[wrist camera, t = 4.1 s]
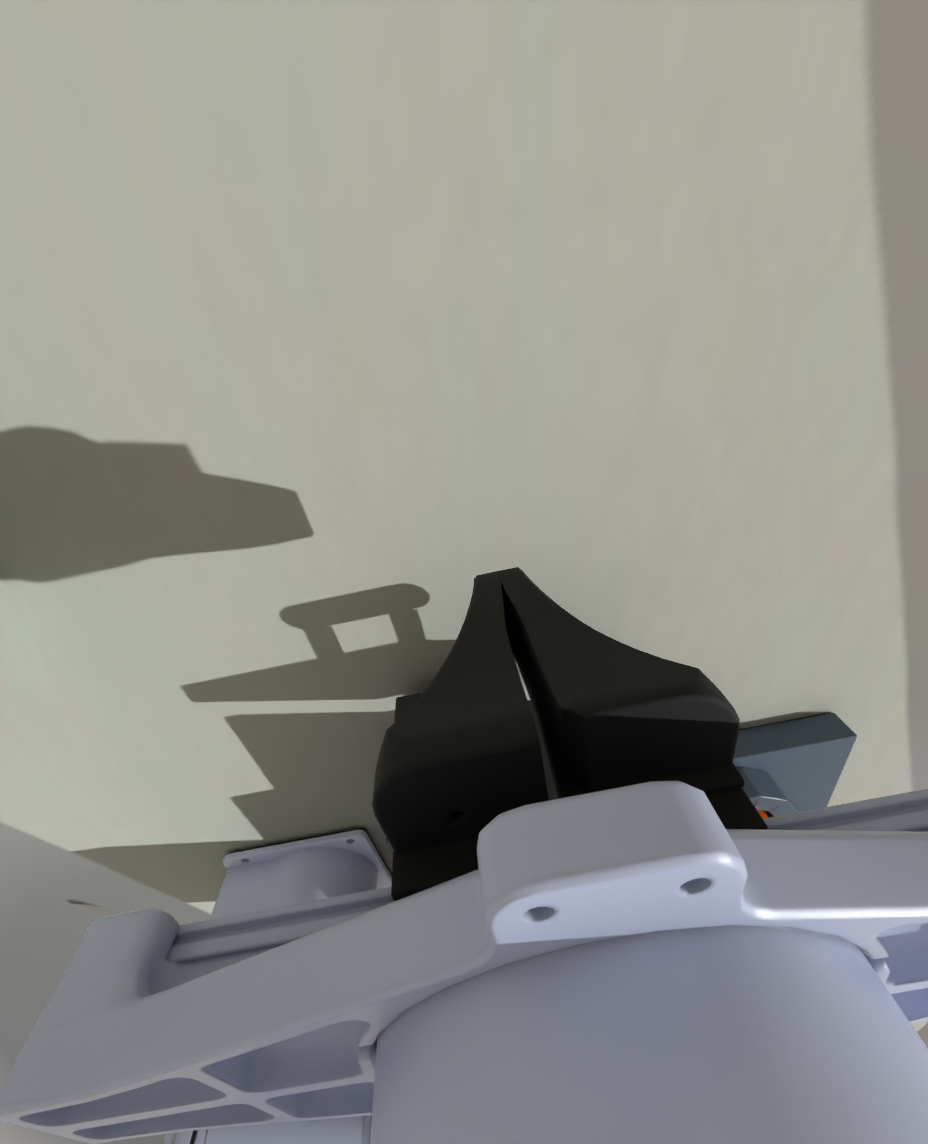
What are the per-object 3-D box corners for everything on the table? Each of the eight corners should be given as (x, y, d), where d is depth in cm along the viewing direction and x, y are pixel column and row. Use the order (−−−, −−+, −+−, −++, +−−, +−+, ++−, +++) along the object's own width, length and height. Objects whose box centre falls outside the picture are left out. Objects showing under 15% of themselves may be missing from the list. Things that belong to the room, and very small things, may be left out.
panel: (644, 826, 31) (667, 882, 28) (647, 747, 26) (676, 803, 23) (801, 798, 31) (842, 850, 28) (833, 711, 26) (887, 764, 23)
